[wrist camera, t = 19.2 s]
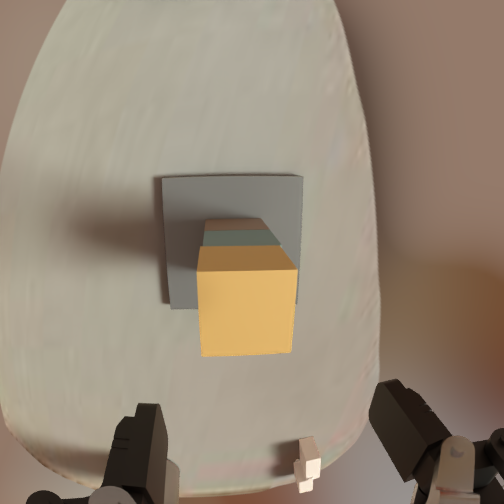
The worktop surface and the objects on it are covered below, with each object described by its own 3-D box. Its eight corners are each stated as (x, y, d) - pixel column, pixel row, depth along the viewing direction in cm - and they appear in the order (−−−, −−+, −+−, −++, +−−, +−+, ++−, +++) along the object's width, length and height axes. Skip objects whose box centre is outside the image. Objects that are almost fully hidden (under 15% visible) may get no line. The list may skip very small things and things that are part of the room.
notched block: (299, 425, 43) (308, 451, 38) (349, 436, 46) (360, 459, 41) (250, 471, 46) (254, 496, 41) (299, 479, 49) (305, 501, 43)
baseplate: (294, 299, 36) (309, 326, 30) (172, 304, 34) (165, 332, 28) (300, 176, 32) (319, 180, 26) (163, 177, 30) (152, 181, 24)
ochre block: (276, 315, 24) (290, 352, 19) (202, 317, 23) (201, 356, 18) (279, 245, 22) (297, 269, 17) (200, 246, 21) (196, 271, 17)
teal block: (268, 289, 28) (279, 315, 24) (206, 291, 28) (206, 318, 23) (269, 229, 27) (281, 245, 22) (204, 230, 26) (202, 247, 21)
